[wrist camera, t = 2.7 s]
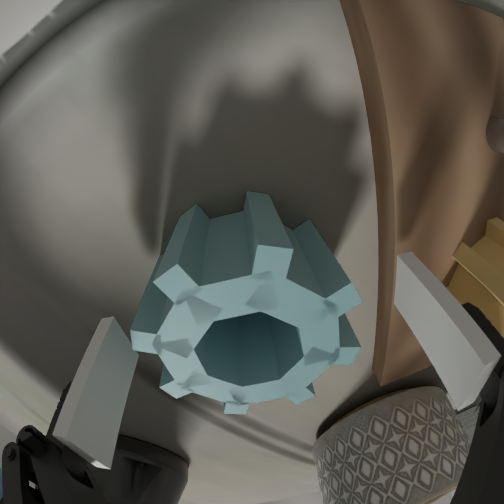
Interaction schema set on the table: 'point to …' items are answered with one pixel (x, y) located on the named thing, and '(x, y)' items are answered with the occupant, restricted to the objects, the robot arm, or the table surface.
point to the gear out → (482, 274)
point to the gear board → (428, 143)
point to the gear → (246, 308)
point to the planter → (393, 450)
